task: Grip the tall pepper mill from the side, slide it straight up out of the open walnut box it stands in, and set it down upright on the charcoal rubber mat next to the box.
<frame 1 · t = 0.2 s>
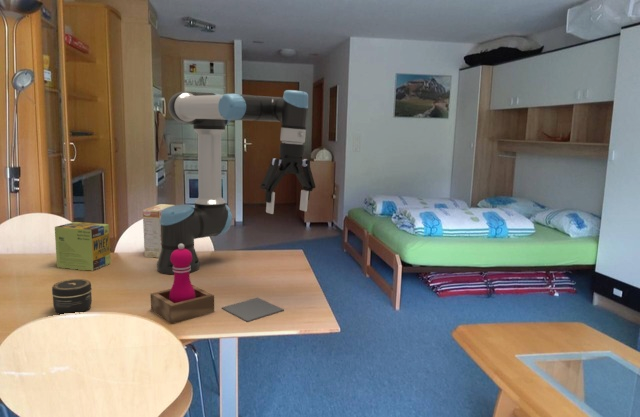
hand: (286, 211, 150), 27 cm above the table, tool pointing down, fingers open, 13 cm apart
walnut box: (182, 311, 139), on the table
mat: (252, 309, 142), on the table
pepper mill: (182, 311, 139), resting in walnut box
jar: (73, 310, 139), on the table
coffeecake box: (160, 253, 201), on the table
protein box: (84, 266, 181), on the table
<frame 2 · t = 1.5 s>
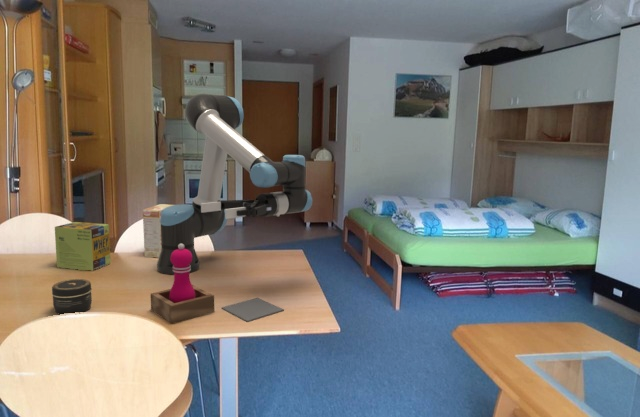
hand: (213, 210, 142), 28 cm above the table, tool horizontal, fingers open, 13 cm apart
nothing on the table moved.
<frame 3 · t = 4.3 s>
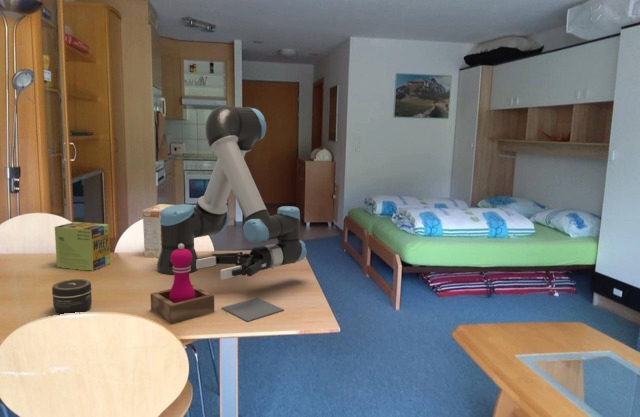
hand: (208, 269, 143), 11 cm above the table, tool horizontal, fingers open, 13 cm apart
nothing on the table moved.
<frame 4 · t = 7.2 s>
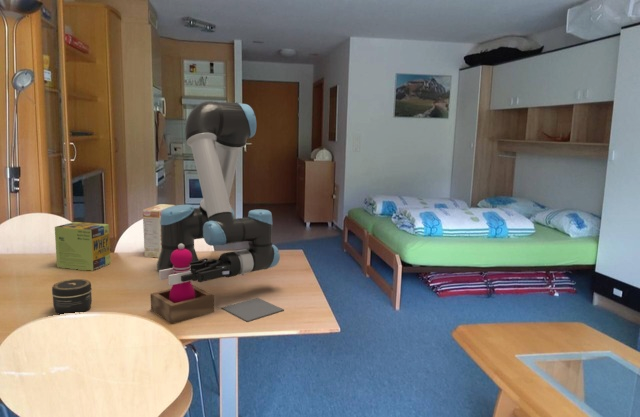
hand: (164, 277, 134), 11 cm above the table, tool horizontal, fingers closed on pepper mill, 5 cm apart
pepper mill: (182, 311, 139), resting in walnut box, touching gripper
everything else where it was.
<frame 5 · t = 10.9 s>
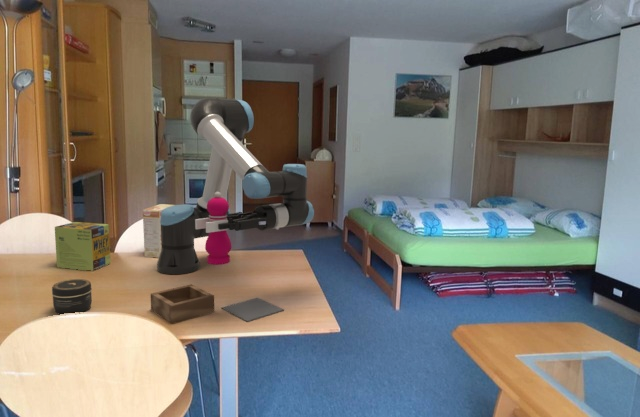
hand: (201, 225, 131), 26 cm above the table, tool horizontal, fingers closed on pepper mill, 5 cm apart
pepper mill: (218, 262, 137), point 15 cm above the table, touching gripper
everything else where it was.
when the fingers open (12 cm above the table, at t = 15.1 s): pepper mill drops 1 cm, resting on mat.
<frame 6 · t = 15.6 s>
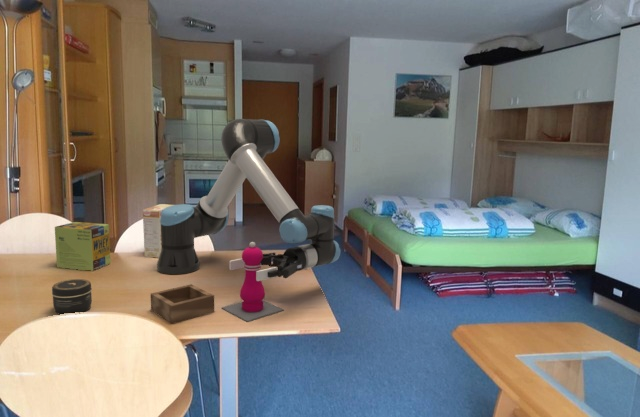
hand: (242, 270, 137), 12 cm above the table, tool horizontal, fingers open, 13 cm apart
pepper mill: (252, 308, 142), resting on mat
everything else where it was.
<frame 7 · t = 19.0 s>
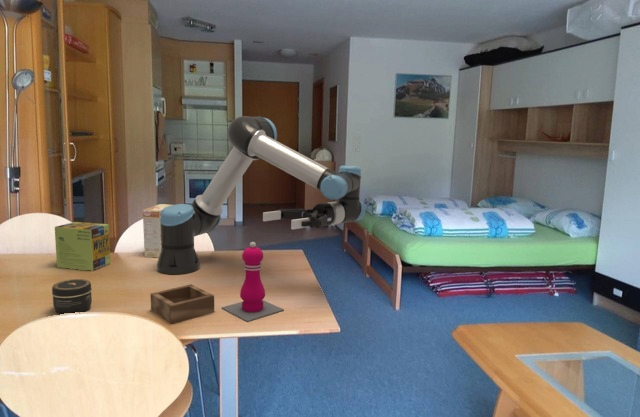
hand: (277, 220, 145), 25 cm above the table, tool horizontal, fingers open, 13 cm apart
nothing on the table moved.
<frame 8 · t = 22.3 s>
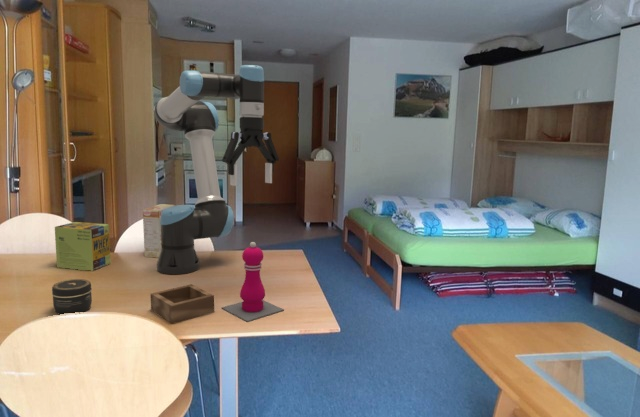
hand: (251, 184, 155), 35 cm above the table, tool pointing down, fingers open, 13 cm apart
nothing on the table moved.
at the end: pepper mill inside the target area (0.0 cm from its centre), resting on mat; pepper mill tilted 0°; the gripper is holding nothing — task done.
